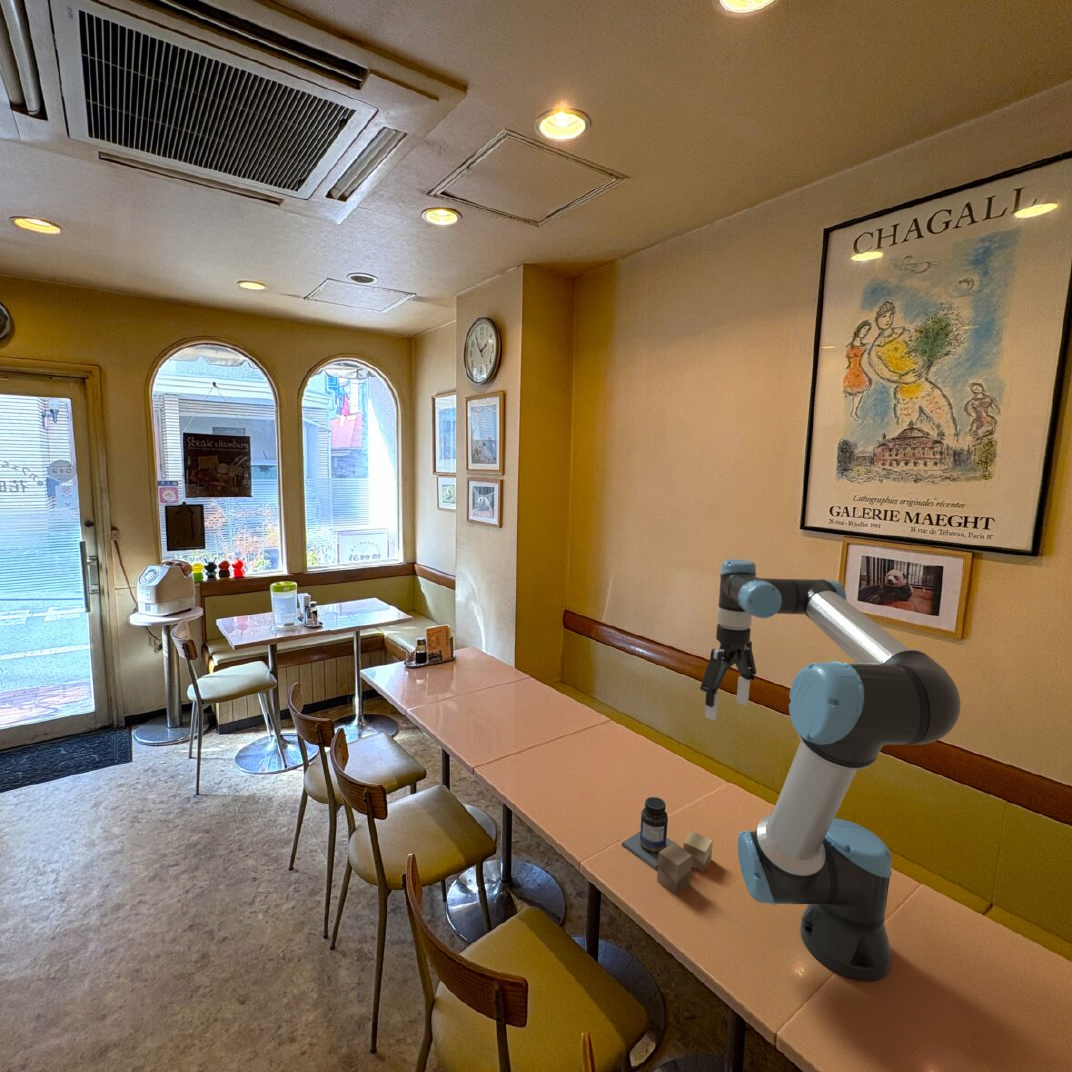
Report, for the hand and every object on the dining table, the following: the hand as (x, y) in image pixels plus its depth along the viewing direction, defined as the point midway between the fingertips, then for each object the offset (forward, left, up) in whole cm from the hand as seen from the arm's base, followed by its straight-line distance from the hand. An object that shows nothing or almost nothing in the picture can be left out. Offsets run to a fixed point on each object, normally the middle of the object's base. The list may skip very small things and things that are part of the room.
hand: (726, 711), depth 136 cm
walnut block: (-4, +23, -32) cm, 39 cm away
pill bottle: (+6, +18, -31) cm, 36 cm away
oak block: (-3, +13, -32) cm, 34 cm away
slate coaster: (+6, +18, -32) cm, 37 cm away
